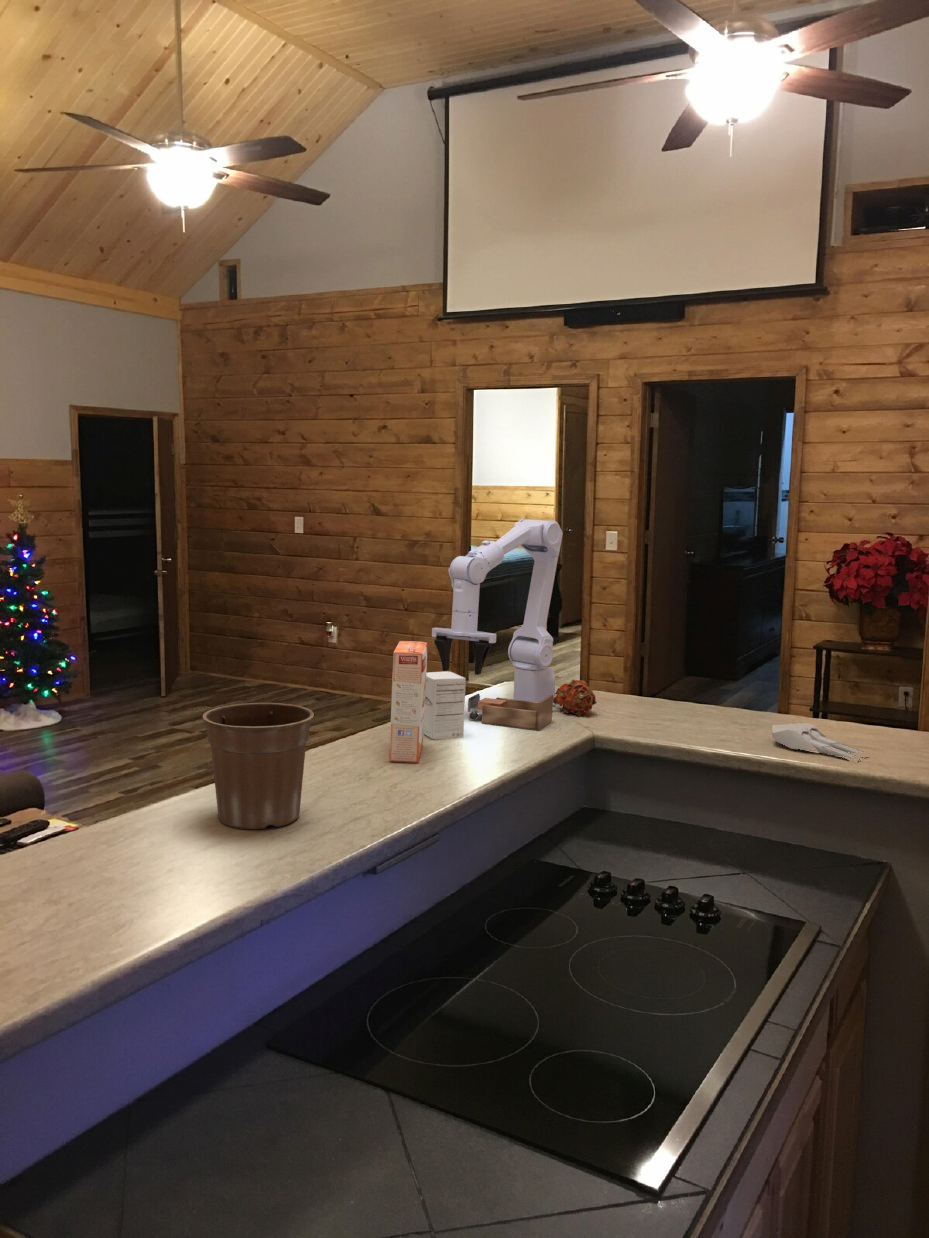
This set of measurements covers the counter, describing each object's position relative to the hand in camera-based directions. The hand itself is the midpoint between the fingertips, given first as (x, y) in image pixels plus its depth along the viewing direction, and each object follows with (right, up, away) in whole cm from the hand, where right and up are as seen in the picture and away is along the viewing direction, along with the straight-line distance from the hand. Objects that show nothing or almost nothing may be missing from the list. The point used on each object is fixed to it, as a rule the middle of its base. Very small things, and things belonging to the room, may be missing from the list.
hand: (461, 672), depth 222 cm
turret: (+73, -16, -15) cm, 76 cm away
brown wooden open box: (+12, -11, -1) cm, 16 cm away
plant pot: (-31, -19, -69) cm, 78 cm away
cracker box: (-10, -14, -30) cm, 35 cm away
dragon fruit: (+26, -10, +11) cm, 30 cm away
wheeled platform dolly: (+6, -11, +1) cm, 12 cm away
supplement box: (-4, -12, -14) cm, 19 cm away
